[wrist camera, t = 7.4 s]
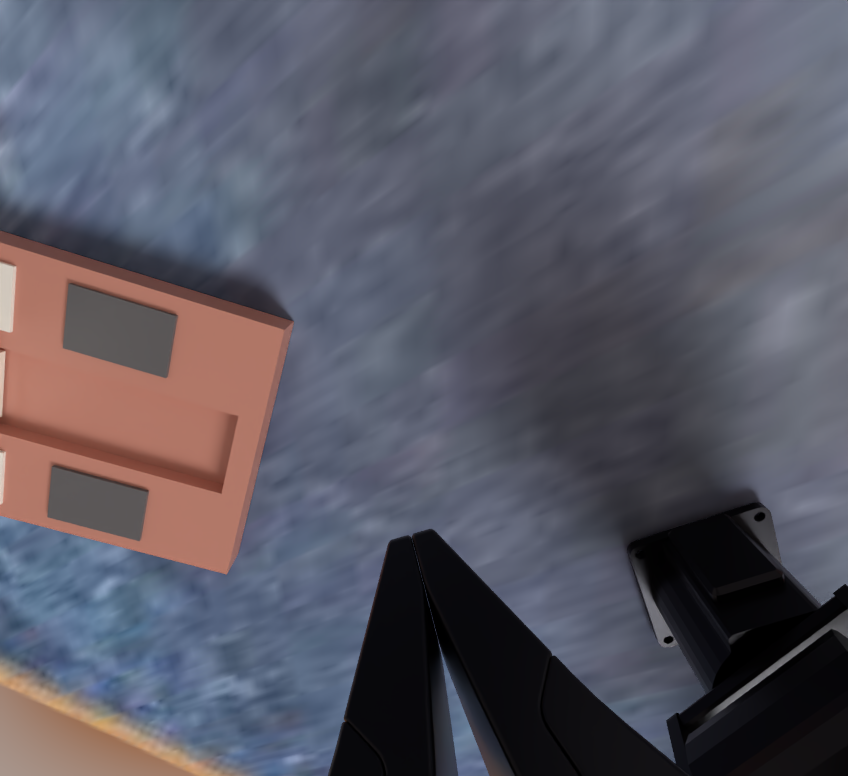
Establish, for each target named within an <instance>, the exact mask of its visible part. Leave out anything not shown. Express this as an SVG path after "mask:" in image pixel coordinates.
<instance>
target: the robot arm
mask: <svg viewBox="0 0 848 776" xmlns="http://www.w3.org/2000/svg"><path fill="white" fill-rule="evenodd" d="M758 512H760V513H759V515H757V516H755V514H757V513H758ZM754 516H755V517H754ZM412 540H413V542H412ZM413 544H414V546H413ZM414 548H415V550H414ZM639 550H643V551H642V552H641V553H639V554H636V553H637V552H638V551H639ZM627 551H628V555H629V558H630V561H631V564H632V567H633V570H634V573H635V576H636V579H637V582H638V585H639V588H640V591H641V594H642V597H643V600H644V603H645V606H646V609H647V612H648V615H649V618H650V621H651V625H652V628H653V631H654V634H655V637H656V638H657V640H658V642H659V644H660V645H661V646H662V647H666V648H668V647H673V646H676V645H679V647H680V649H681V650H682V652H683V654H684V656H685V657H686V659H687V661H688V663H689V664H690V666H691V668H692V670H693V671H694V673H695V675H696V677H697V678H698V680H699V682H700V684H701V685H702V687H703V689H704V691H705V692H706V694H705V695H704V696H703V697H701V698H700V699H699V700H697V701H696V702H695V703H694V704H692V705H691V706H690V707H688V708H687V709H686V710H684V711H683V712H682V713H680V714H679V713H676V714H674V715H673V716H672V717H670V718H669V719H668V720H666V722H667V726H668V731H669V735H670V739H671V744H672V748H673V752H674V757H675V761H676V764H675V763H674V762H672V761H671V760H670V759H669V758H668V757H666V756H665V755H664V754H663V753H662V752H660V751H659V750H658V749H657V748H656V747H654V746H653V745H652V744H651V743H650V742H648V741H647V740H646V739H645V738H643V737H642V736H641V735H640V734H639V733H637V732H636V731H635V730H634V729H633V728H631V727H630V726H629V725H628V724H627V723H625V722H624V721H623V720H622V719H621V718H620V717H619V716H617V715H616V714H615V713H614V712H613V711H612V710H611V709H609V708H608V707H607V706H606V705H605V704H604V703H603V702H601V701H600V700H599V699H598V698H597V697H596V696H595V695H594V694H593V693H592V692H591V691H590V690H589V689H588V688H587V687H586V686H585V685H584V684H583V683H582V682H580V681H579V680H578V679H577V678H576V677H575V676H574V675H573V674H572V673H571V672H570V671H569V670H568V669H567V668H566V666H565V665H564V664H563V663H562V662H561V661H560V660H559V659H558V658H557V657H556V656H552V653H551V651H550V650H549V649H548V648H547V647H546V646H545V645H544V644H543V643H542V642H541V641H540V640H539V639H538V638H537V637H536V636H535V635H534V633H533V632H532V631H531V630H530V629H529V628H528V627H527V626H526V625H525V624H524V623H523V622H522V621H521V620H520V619H519V618H518V617H517V616H516V615H515V614H514V613H513V612H512V611H511V610H510V609H509V607H508V606H507V605H506V604H505V603H504V602H503V601H502V600H501V599H500V598H499V597H498V596H497V595H496V594H495V593H494V592H493V591H492V590H491V589H490V588H489V587H488V586H487V585H486V584H485V582H484V581H483V580H482V579H481V578H480V577H479V576H478V575H477V574H476V573H475V572H474V571H473V570H472V569H471V568H470V567H469V566H468V565H467V564H466V563H465V562H464V561H463V560H462V559H461V557H460V556H459V555H458V554H457V553H456V552H455V551H454V550H453V549H452V548H451V547H450V546H449V545H448V544H447V543H446V542H445V541H444V540H443V539H442V538H441V537H440V536H439V535H438V534H437V533H436V532H435V531H434V530H433V529H428V530H424V531H421V532H417V533H414V534H413V535H412V538H411V537H410V536H408V535H407V536H403V537H400V538H396V539H393V540H391V541H390V542H389V544H388V547H387V551H386V554H385V558H384V562H383V566H382V570H381V574H380V578H379V582H378V586H377V590H376V594H375V597H374V601H373V605H372V609H371V613H370V617H369V621H368V625H367V629H366V633H365V637H364V641H363V644H362V648H361V652H360V656H359V660H358V664H357V668H356V672H355V676H354V680H353V684H352V687H351V691H350V695H349V699H348V703H347V707H346V711H345V715H344V720H345V722H343V723H342V726H341V730H340V734H339V737H338V741H337V745H336V749H335V753H334V756H333V760H332V763H331V767H330V770H329V774H328V776H458V771H457V764H456V757H455V749H454V742H453V735H452V727H451V720H450V713H449V705H448V698H447V691H446V683H445V676H444V669H443V663H442V656H441V651H442V654H443V657H444V660H445V662H446V665H447V668H448V670H449V673H450V676H451V678H452V681H453V683H454V686H455V688H456V691H457V694H458V696H459V699H460V701H461V704H462V706H463V709H464V711H465V714H466V717H467V719H468V722H469V724H470V727H471V729H472V732H473V735H474V737H475V740H476V742H477V745H478V747H479V750H480V752H481V755H482V758H483V760H484V763H485V765H486V768H487V770H488V773H489V775H490V776H848V586H847V585H846V584H844V585H843V586H842V587H840V588H839V589H838V590H837V591H835V592H834V593H833V594H834V595H835V596H834V597H833V598H831V599H830V600H829V601H827V602H826V603H825V604H823V605H821V604H820V603H819V602H818V601H817V600H816V599H815V598H814V597H813V596H812V595H811V594H810V593H809V592H808V591H807V590H806V589H805V588H804V587H803V586H802V585H801V584H800V583H799V582H798V581H797V580H796V579H795V578H794V577H793V576H792V575H791V574H790V573H789V572H788V571H787V570H786V569H785V568H784V567H783V566H782V562H781V558H780V553H779V548H778V544H777V539H776V535H775V530H774V525H773V521H772V516H771V513H770V511H769V510H768V509H767V508H766V507H765V506H764V505H763V504H761V503H752V504H749V505H746V506H742V507H739V508H736V509H733V510H730V511H727V512H724V513H721V514H718V515H715V516H711V517H708V518H705V519H702V520H699V521H696V522H693V523H690V524H687V525H684V526H680V527H677V528H674V529H671V530H668V531H665V532H662V533H659V534H656V535H653V536H649V537H646V538H643V539H640V540H637V541H634V542H632V543H631V544H630V545H629V546H628V549H627ZM415 552H416V553H415ZM416 556H417V557H416ZM417 560H418V561H417ZM418 563H419V565H418ZM419 567H420V569H419ZM420 571H421V573H420ZM421 575H422V577H421ZM422 579H423V580H422ZM423 583H424V584H423ZM424 587H425V588H424ZM425 590H426V592H425ZM426 594H427V596H426ZM427 598H428V600H427ZM428 602H429V604H428ZM429 606H430V607H429ZM430 610H431V611H430ZM431 614H432V615H431ZM432 617H433V619H432ZM433 621H434V623H433ZM434 625H435V627H434ZM435 629H436V631H435ZM436 633H437V635H436ZM667 636H668V637H667ZM437 637H438V638H437ZM438 641H439V643H438ZM439 644H440V647H441V651H440V647H439Z"/></svg>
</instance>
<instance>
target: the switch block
mask: <svg viewBox="0 0 848 776" xmlns="http://www.w3.org/2000/svg"><path fill="white" fill-rule="evenodd" d="M293 324H294V321H290V320H287V319H284V318H281V317H277V316H274V315H271V314H268V313H265V312H261V311H258V310H255V309H252V308H248V307H245V306H242V305H239V304H236V303H232V302H229V301H226V300H223V299H219V298H216V297H213V296H210V295H206V294H203V293H200V292H197V291H194V290H190V289H187V288H184V287H181V286H177V285H174V284H171V283H168V282H165V281H161V280H158V279H155V278H152V277H148V276H145V275H142V274H139V273H135V272H132V271H129V270H126V269H123V268H119V267H116V266H113V265H110V264H106V263H103V262H100V261H97V260H94V259H90V258H87V257H84V256H81V255H77V254H74V253H71V252H68V251H65V250H61V249H58V248H55V247H52V246H48V245H45V244H42V243H39V242H35V241H32V240H29V239H26V238H23V237H19V236H16V235H13V234H10V233H6V232H3V231H0V350H4V351H6V352H5V371H4V390H3V408H2V417H0V516H4V517H8V518H11V519H15V520H19V521H23V522H27V523H31V524H35V525H38V526H42V527H46V528H50V529H54V530H58V531H62V532H65V533H69V534H73V535H77V536H81V537H85V538H89V539H92V540H96V541H100V542H104V543H108V544H112V545H116V546H119V547H123V548H127V549H131V550H135V551H139V552H143V553H146V554H150V555H154V556H158V557H162V558H166V559H170V560H173V561H177V562H181V563H185V564H189V565H193V566H197V567H200V568H204V569H208V570H212V571H216V572H220V573H224V574H227V573H228V571H229V569H230V568H231V566H232V564H233V562H234V560H235V558H236V557H237V555H238V552H239V548H240V544H241V540H242V535H243V531H244V527H245V523H246V519H247V515H248V511H249V506H250V502H251V498H252V494H253V490H254V486H255V481H256V477H257V473H258V469H259V465H260V461H261V457H262V452H263V448H264V444H265V440H266V436H267V432H268V427H269V423H270V419H271V415H272V411H273V407H274V403H275V398H276V394H277V390H278V386H279V382H280V378H281V373H282V369H283V365H284V361H285V357H286V353H287V349H288V344H289V340H290V336H291V332H292V328H293Z"/></svg>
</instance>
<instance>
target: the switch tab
mask: <svg viewBox="0 0 848 776" xmlns="http://www.w3.org/2000/svg"><path fill="white" fill-rule="evenodd" d="M5 352H6V351H4V350H0V417H2V408H3V390H4V371H5Z"/></svg>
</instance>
